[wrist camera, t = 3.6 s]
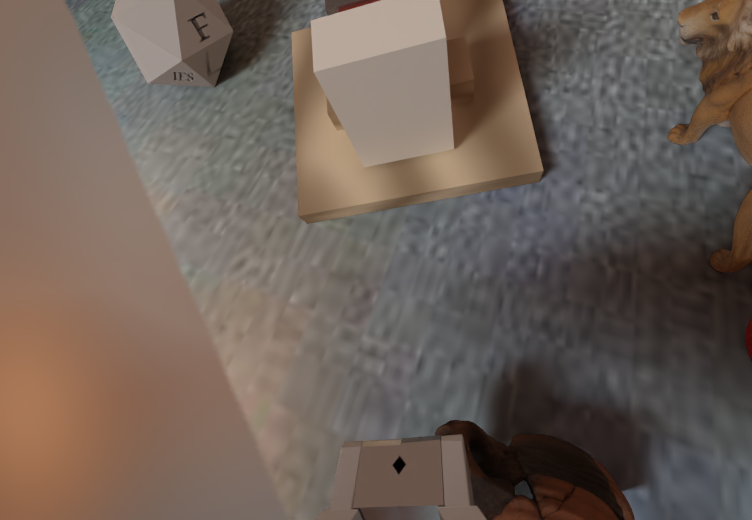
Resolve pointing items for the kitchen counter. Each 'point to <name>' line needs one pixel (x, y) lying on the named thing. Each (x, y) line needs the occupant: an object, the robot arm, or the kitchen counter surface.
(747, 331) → the strawberry
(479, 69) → the tan square base board
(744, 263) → the lion figurine
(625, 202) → the kitchen counter surface
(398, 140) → the white rectangular block
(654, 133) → the kitchen counter surface
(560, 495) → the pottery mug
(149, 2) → the die
